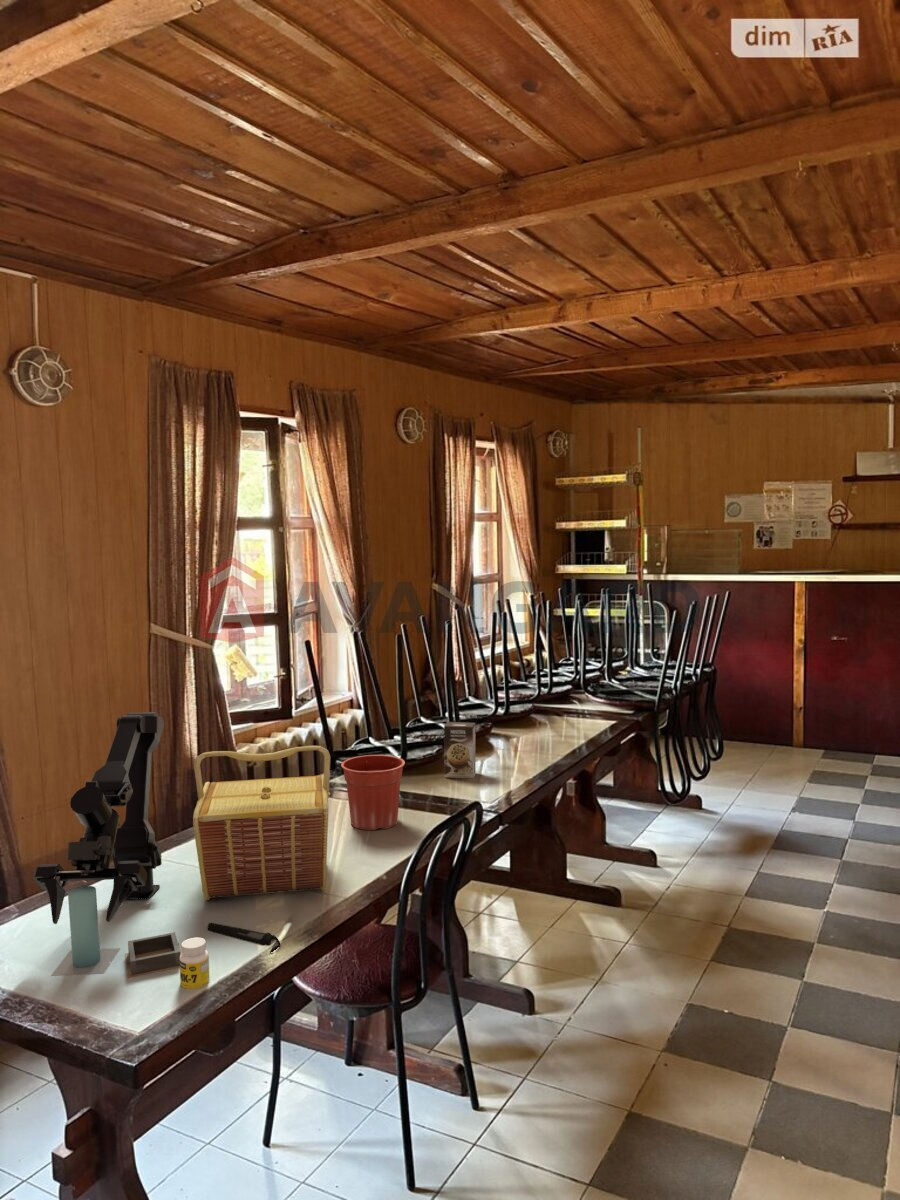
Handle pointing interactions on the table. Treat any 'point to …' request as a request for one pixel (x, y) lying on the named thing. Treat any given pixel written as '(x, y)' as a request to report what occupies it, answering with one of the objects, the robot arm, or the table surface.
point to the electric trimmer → (245, 935)
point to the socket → (152, 955)
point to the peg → (84, 926)
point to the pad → (99, 968)
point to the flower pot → (373, 790)
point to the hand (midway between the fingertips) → (81, 922)
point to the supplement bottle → (194, 963)
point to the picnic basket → (262, 830)
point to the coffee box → (459, 749)
